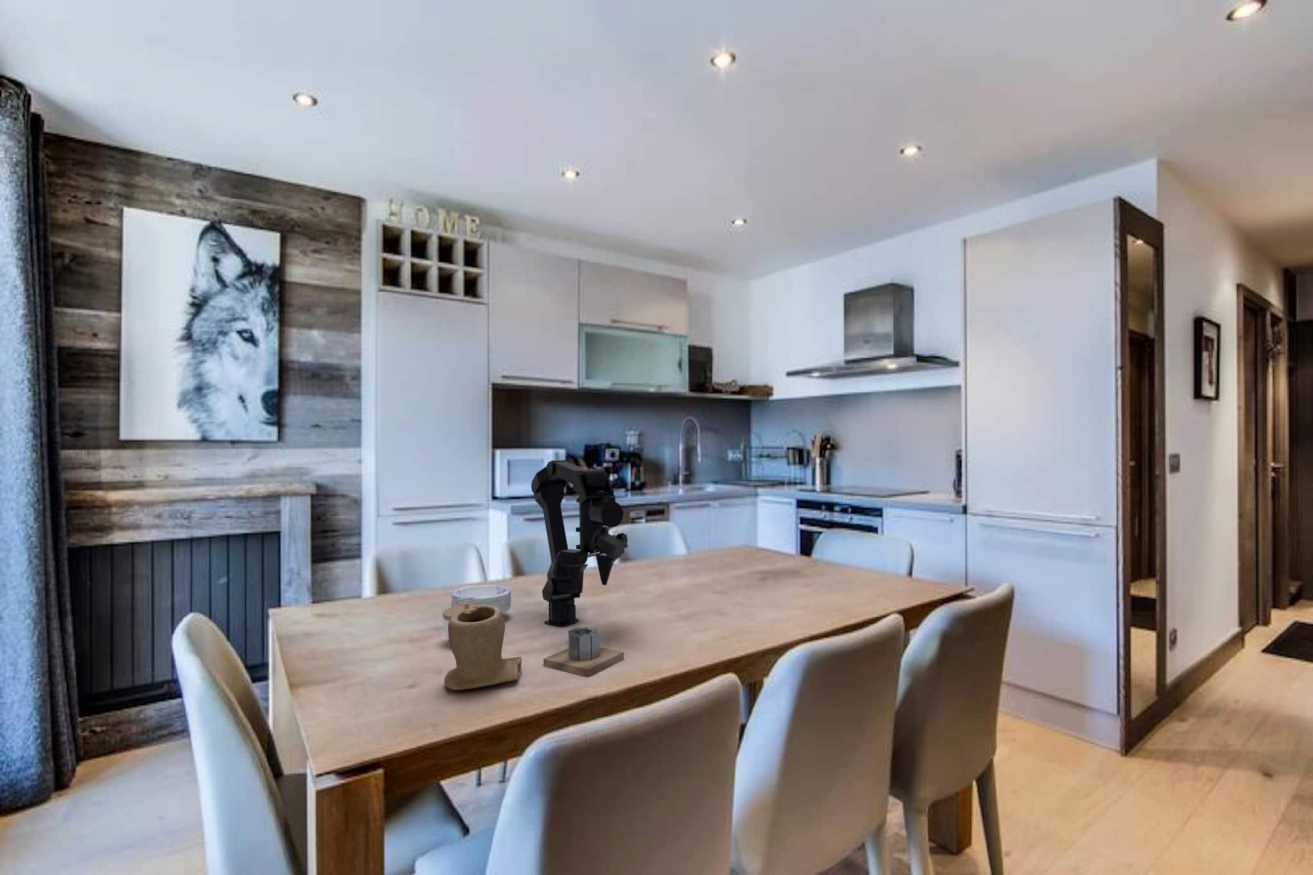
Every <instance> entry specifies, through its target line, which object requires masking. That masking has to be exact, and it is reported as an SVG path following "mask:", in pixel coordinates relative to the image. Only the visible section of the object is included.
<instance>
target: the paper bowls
mask: <svg viewBox="0 0 1313 875" xmlns="http://www.w3.org/2000/svg"><path fill="white" fill-rule="evenodd" d="M450 603H451V608H452V607H456V606H461V605H465V604H464V603H469V605H473V604H475V605H493V606H496V607H498V608H499V609H500V610H501V612H502V614H503V615H504V613H506V612H507V611H509V610H510V609H511V606H512V590H511V588H509V587H507V586H505V585H504V586H503V585H496V584H495V585H493V584H483V585H481V584H480V585H471V586H464V587H461V588H457V589H455V590H453V591H452V592H451V602H450Z"/></svg>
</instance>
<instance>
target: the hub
mask: <svg viewBox="0 0 1313 875" xmlns="http://www.w3.org/2000/svg"><path fill="white" fill-rule="evenodd" d="M567 643H568V644H567V645H568V646H567V649H568V656H569V658H570V659H573V660H577V661H584V660H592V659H595V658H597V657H599V656H600V649H599V647H600V630H599V629H598V628H596V627H592V626H591V627H590V626H584V627H583V626H582V627H574V628H572V629H570V630H568V631H567Z"/></svg>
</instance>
